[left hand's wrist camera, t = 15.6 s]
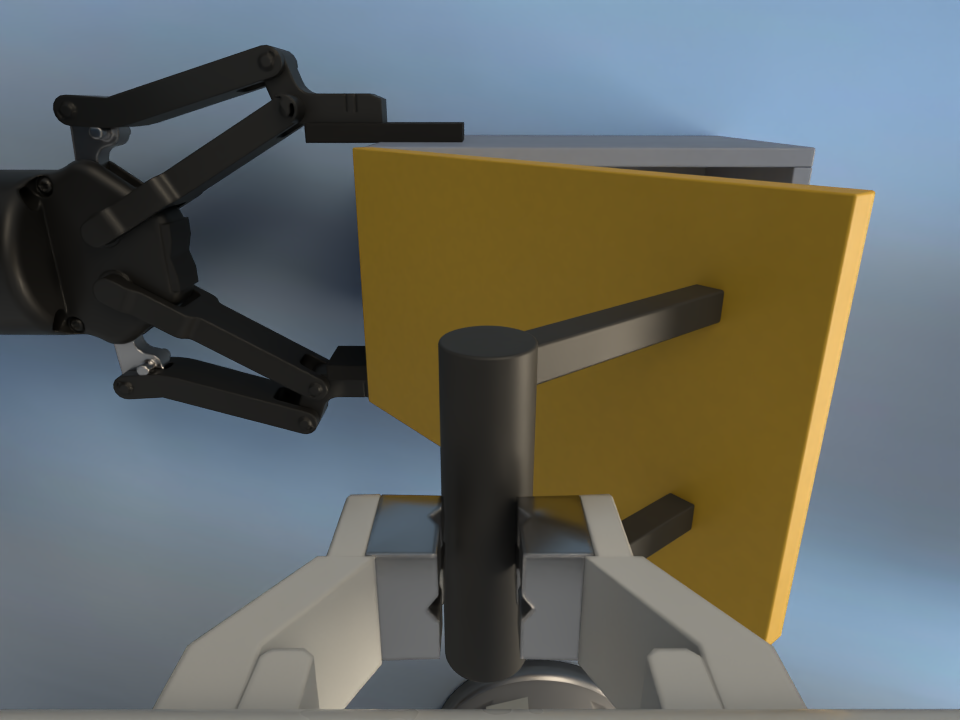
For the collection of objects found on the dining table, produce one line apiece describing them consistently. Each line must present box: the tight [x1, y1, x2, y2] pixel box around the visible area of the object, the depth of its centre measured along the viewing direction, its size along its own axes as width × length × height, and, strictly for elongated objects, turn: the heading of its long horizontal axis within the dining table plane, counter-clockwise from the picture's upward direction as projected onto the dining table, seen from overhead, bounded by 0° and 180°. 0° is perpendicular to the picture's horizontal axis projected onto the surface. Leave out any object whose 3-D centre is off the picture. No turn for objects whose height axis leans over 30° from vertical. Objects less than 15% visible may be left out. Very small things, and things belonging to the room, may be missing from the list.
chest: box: [367, 135, 815, 185], centre depth 31 cm, size 17×10×11 cm, turn 90°
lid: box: [353, 147, 875, 683], centre depth 17 cm, size 17×10×8 cm
